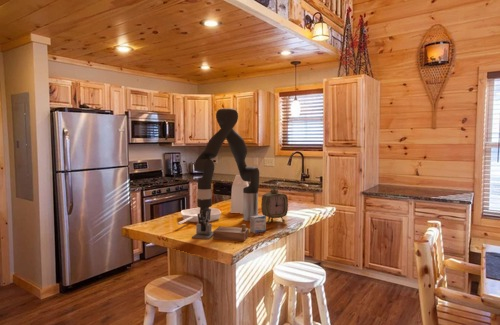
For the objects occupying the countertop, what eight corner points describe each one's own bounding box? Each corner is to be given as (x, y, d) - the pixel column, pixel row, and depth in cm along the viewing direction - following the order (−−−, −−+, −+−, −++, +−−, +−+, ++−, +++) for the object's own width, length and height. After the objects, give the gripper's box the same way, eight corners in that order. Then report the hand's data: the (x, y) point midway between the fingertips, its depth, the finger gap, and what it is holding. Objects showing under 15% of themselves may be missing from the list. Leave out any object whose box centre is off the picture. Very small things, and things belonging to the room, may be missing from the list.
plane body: (219, 233, 178) (219, 220, 177) (248, 235, 174) (248, 222, 174) (213, 239, 168) (213, 225, 167) (244, 241, 164) (244, 227, 164)
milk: (249, 210, 238) (249, 174, 236) (248, 214, 226) (248, 175, 225) (233, 210, 239) (233, 174, 237) (230, 213, 228) (230, 175, 226)
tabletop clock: (267, 224, 197) (267, 182, 196) (259, 221, 205) (260, 181, 204) (287, 222, 204) (288, 181, 202) (279, 219, 212) (280, 180, 210)
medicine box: (254, 233, 178) (254, 217, 177) (249, 231, 182) (249, 216, 181) (266, 231, 183) (266, 215, 182) (261, 229, 186) (261, 214, 186)
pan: (228, 215, 221) (228, 209, 221) (201, 231, 182) (201, 223, 182) (190, 213, 229) (190, 206, 229) (157, 227, 190) (157, 220, 189)
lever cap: (198, 232, 177) (199, 221, 176) (211, 233, 175) (211, 222, 175) (196, 233, 173) (196, 222, 173) (209, 234, 172) (209, 223, 171)
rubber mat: (200, 231, 181) (200, 230, 181) (216, 232, 179) (216, 231, 179) (191, 238, 169) (191, 236, 169) (208, 239, 167) (208, 238, 167)
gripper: (202, 195, 181) (202, 226, 182) (192, 199, 167) (192, 233, 168) (215, 195, 179) (215, 227, 180) (206, 200, 165) (206, 234, 166)
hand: (204, 230), depth 174 cm, fingers closed on lever cap, 3 cm apart
